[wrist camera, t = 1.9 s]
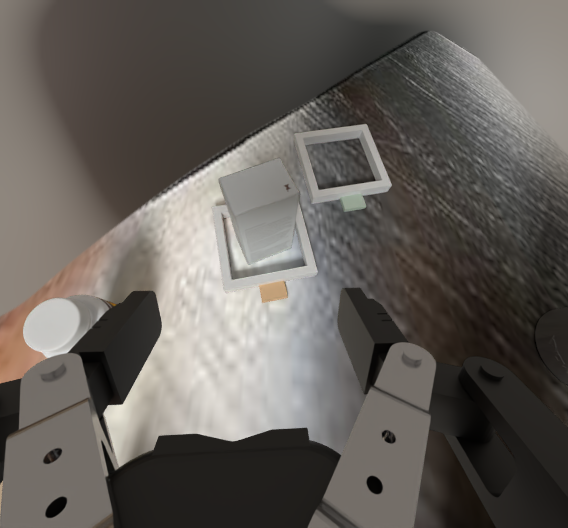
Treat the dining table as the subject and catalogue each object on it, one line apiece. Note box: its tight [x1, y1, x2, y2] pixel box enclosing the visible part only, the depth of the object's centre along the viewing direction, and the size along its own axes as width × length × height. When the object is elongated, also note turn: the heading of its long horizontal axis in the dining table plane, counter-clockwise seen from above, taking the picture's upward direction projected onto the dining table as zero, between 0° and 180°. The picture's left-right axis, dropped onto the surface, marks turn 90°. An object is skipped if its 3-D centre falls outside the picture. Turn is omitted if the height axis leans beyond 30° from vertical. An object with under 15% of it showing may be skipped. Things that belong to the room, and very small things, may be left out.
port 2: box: [294, 124, 392, 212], centre depth 37 cm, size 11×13×2 cm
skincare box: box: [218, 158, 300, 265], centre depth 28 cm, size 6×4×12 cm
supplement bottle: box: [23, 295, 117, 358], centre depth 24 cm, size 6×6×10 cm
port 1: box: [212, 202, 318, 303], centre depth 32 cm, size 11×13×2 cm
